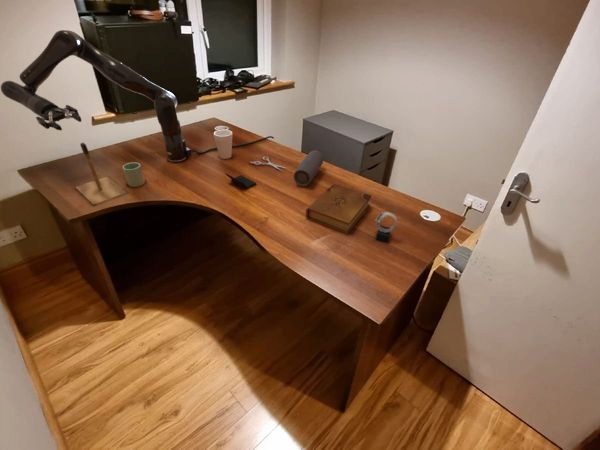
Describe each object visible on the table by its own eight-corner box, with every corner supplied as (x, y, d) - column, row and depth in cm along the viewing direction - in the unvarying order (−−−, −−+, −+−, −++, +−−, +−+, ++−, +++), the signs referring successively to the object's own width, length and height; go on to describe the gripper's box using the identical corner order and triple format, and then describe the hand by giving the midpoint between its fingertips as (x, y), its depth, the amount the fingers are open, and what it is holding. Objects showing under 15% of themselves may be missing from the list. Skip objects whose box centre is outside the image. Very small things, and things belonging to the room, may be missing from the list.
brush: (101, 187, 148) (83, 141, 134) (103, 189, 147) (85, 142, 133) (97, 189, 146) (78, 142, 133) (99, 191, 145) (80, 144, 132)
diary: (331, 194, 151) (332, 183, 147) (369, 206, 143) (371, 195, 140) (305, 218, 135) (306, 207, 131) (347, 234, 127) (349, 222, 124)
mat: (107, 177, 156) (107, 176, 156) (126, 193, 146) (126, 192, 145) (75, 188, 148) (75, 186, 148) (93, 205, 137) (93, 204, 137)
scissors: (263, 155, 179) (292, 165, 169) (263, 156, 179) (292, 167, 170) (249, 162, 172) (279, 173, 162) (249, 163, 172) (279, 174, 163)
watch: (373, 230, 130) (378, 207, 123) (394, 235, 128) (400, 212, 121) (370, 238, 126) (375, 215, 119) (391, 244, 124) (398, 220, 117)
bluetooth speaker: (311, 190, 153) (312, 170, 147) (292, 186, 155) (292, 167, 149) (324, 168, 170) (325, 150, 164) (307, 165, 172) (307, 147, 166)
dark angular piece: (258, 179, 156) (247, 168, 147) (252, 192, 154) (240, 183, 146) (240, 175, 161) (228, 165, 153) (234, 188, 160) (221, 179, 151)
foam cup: (238, 155, 179) (235, 132, 171) (226, 161, 173) (223, 138, 165) (225, 150, 183) (222, 128, 175) (213, 156, 177) (209, 133, 169)
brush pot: (140, 177, 157) (135, 160, 151) (148, 183, 153) (143, 166, 147) (125, 183, 152) (119, 165, 147) (132, 189, 148) (127, 171, 143)
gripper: (21, 106, 130) (50, 123, 127) (56, 93, 139) (83, 109, 136) (30, 122, 136) (57, 139, 132) (62, 109, 145) (89, 124, 141)
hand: (70, 123), depth 134 cm, fingers open, 8 cm apart
